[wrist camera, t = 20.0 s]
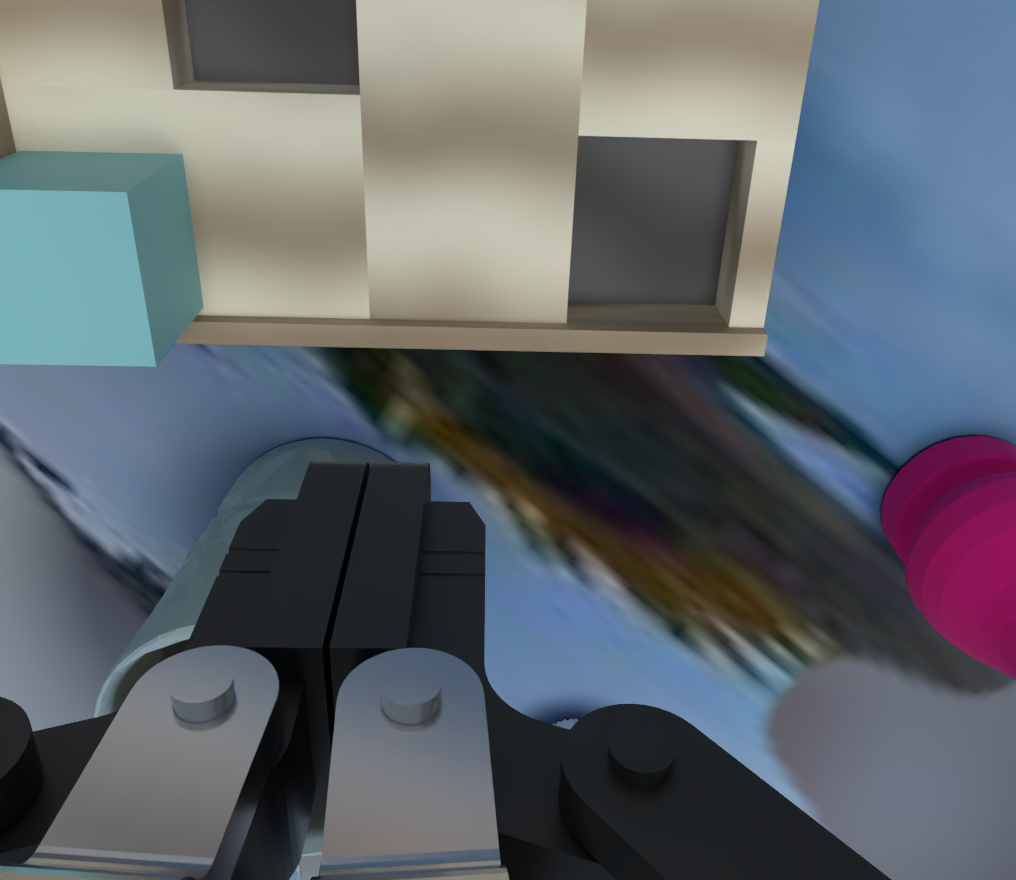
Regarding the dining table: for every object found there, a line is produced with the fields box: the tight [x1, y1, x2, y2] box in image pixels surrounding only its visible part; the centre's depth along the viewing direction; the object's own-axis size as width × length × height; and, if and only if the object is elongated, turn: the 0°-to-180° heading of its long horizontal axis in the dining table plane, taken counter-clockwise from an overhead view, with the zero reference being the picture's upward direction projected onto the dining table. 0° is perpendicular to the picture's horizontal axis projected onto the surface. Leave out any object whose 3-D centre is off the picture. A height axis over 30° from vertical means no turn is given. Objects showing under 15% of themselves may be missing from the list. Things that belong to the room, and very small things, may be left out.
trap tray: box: [0, 0, 820, 356], centre depth 28 cm, size 15×25×4 cm, turn 88°
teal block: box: [0, 151, 204, 367], centre depth 28 cm, size 5×5×5 cm
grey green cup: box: [94, 438, 394, 857], centre depth 33 cm, size 10×10×12 cm
